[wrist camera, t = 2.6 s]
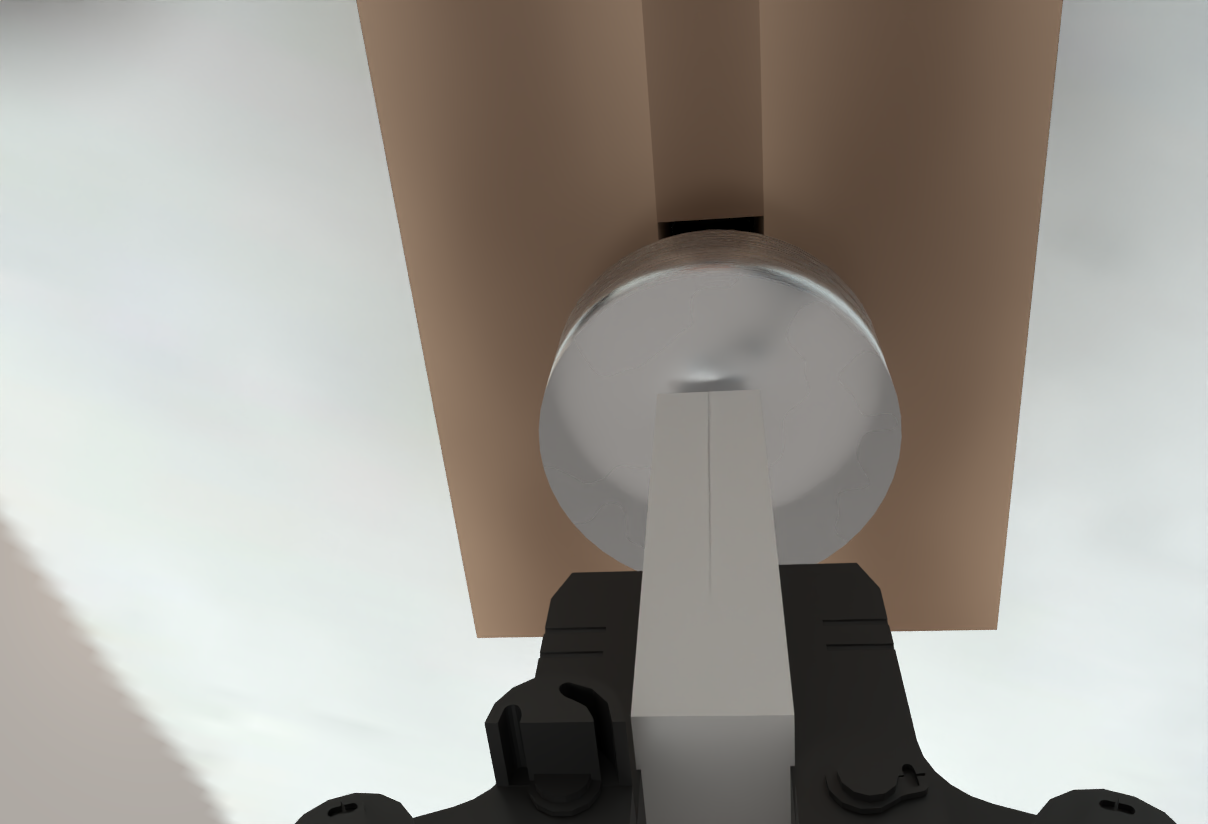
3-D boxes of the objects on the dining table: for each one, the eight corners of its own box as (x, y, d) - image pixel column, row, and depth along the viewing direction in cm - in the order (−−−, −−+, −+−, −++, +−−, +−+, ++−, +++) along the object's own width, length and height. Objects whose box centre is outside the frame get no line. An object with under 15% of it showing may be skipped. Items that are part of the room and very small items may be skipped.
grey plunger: (844, 127, 22) (909, 264, 15) (840, 370, 24) (894, 584, 17) (575, 147, 22) (517, 285, 15) (600, 381, 25) (559, 591, 18)
